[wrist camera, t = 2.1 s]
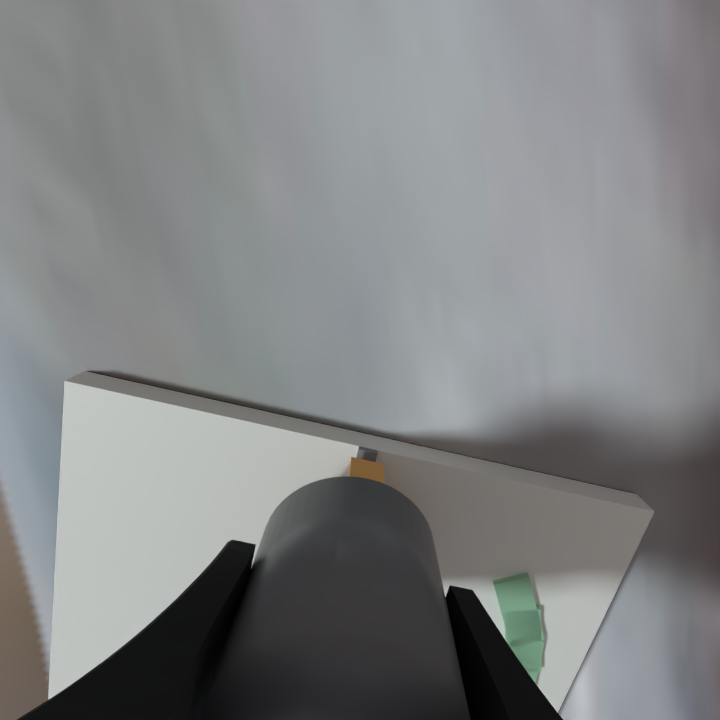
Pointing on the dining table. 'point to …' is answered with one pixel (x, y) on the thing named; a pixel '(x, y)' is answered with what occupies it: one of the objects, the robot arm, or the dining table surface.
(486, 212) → the dining table surface
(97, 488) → the dial plate
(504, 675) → the robot arm
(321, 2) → the dining table surface
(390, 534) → the dial knob
